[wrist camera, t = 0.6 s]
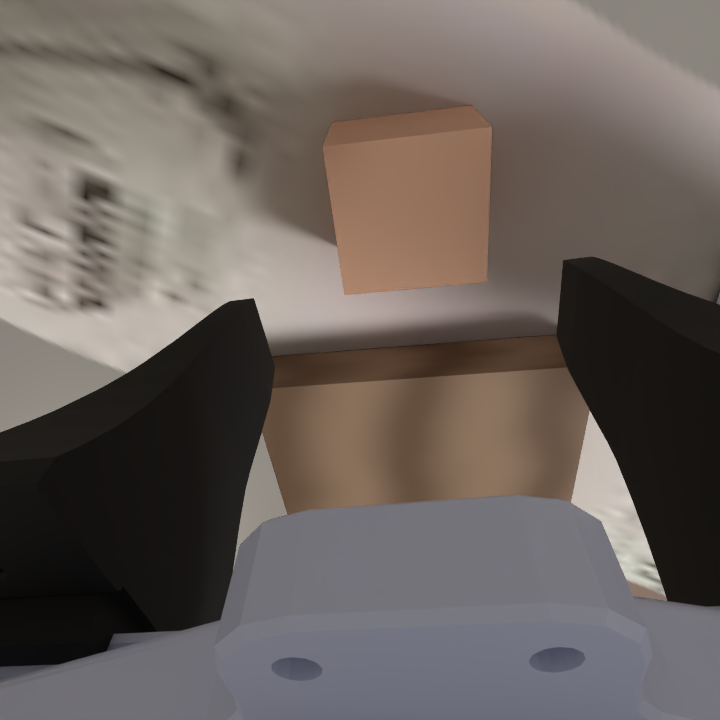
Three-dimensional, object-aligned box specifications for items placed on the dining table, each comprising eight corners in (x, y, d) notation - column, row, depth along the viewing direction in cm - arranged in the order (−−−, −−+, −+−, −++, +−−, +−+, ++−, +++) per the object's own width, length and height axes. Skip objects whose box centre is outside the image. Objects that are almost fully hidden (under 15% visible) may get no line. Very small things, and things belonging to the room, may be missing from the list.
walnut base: (579, 332, 23) (598, 365, 21) (545, 532, 32) (557, 569, 29) (260, 357, 24) (249, 389, 22) (311, 542, 33) (307, 578, 31)
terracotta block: (471, 104, 18) (491, 126, 14) (469, 238, 21) (487, 281, 17) (332, 121, 18) (322, 146, 15) (349, 250, 21) (344, 294, 18)
